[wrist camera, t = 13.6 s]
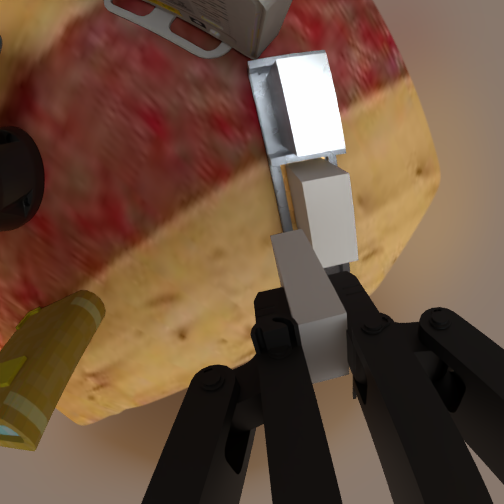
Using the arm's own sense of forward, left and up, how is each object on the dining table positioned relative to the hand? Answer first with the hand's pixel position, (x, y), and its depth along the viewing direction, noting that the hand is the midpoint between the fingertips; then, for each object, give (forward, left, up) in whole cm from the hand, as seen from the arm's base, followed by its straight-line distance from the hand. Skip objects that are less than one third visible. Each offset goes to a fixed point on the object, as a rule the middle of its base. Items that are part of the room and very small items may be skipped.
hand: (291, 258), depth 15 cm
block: (+5, -3, -22) cm, 23 cm away
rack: (+5, -3, -23) cm, 23 cm away
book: (-35, -14, -23) cm, 44 cm away
